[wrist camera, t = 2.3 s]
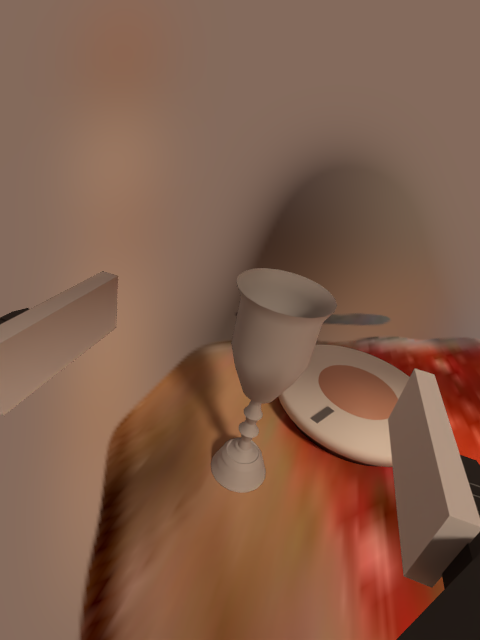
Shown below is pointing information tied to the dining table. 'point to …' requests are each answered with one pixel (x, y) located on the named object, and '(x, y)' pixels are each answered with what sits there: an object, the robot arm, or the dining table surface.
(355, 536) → the dining table surface
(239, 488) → the chalice
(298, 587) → the dining table surface
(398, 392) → the turntable
